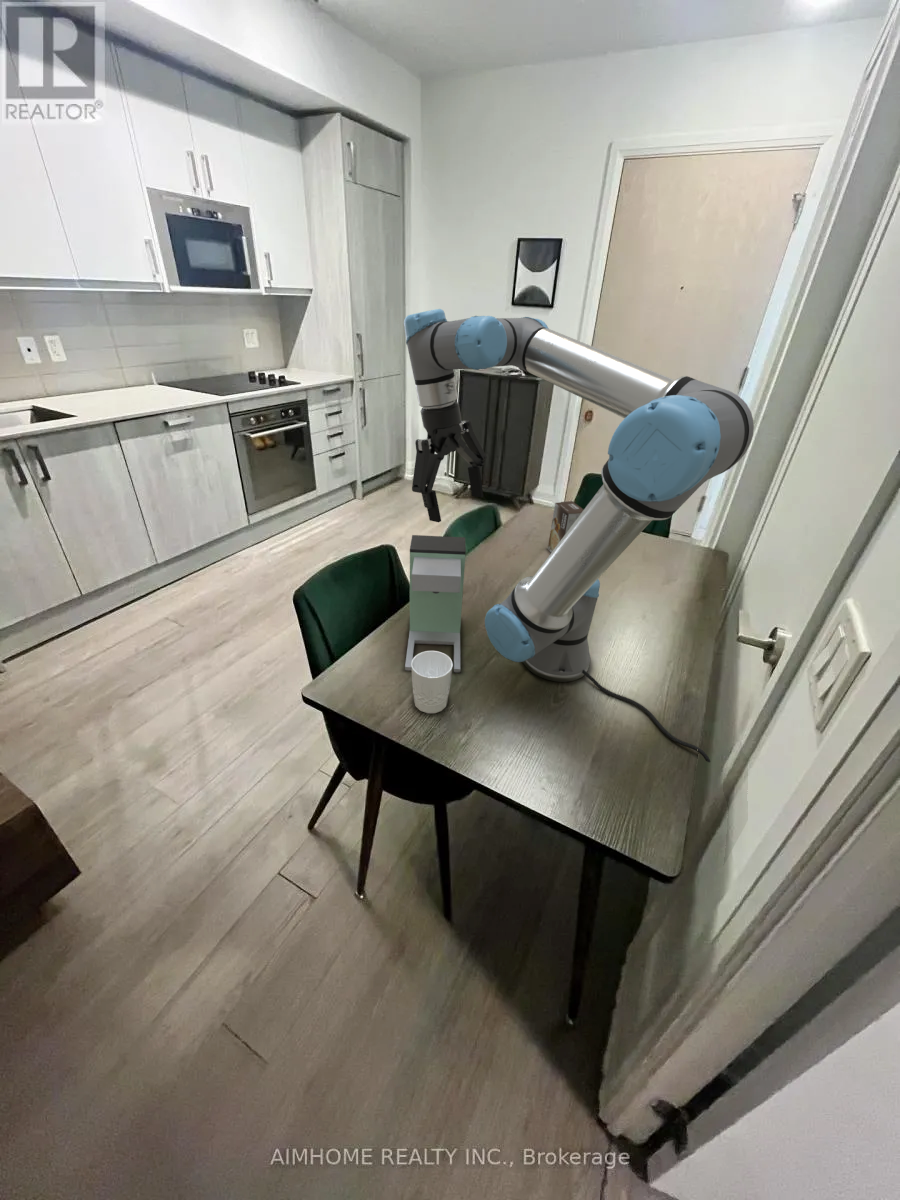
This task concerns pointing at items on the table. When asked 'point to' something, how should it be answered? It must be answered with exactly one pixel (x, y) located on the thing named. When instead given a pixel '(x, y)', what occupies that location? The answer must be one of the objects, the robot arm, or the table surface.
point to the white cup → (431, 680)
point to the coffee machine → (436, 593)
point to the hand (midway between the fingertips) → (457, 508)
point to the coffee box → (562, 521)
